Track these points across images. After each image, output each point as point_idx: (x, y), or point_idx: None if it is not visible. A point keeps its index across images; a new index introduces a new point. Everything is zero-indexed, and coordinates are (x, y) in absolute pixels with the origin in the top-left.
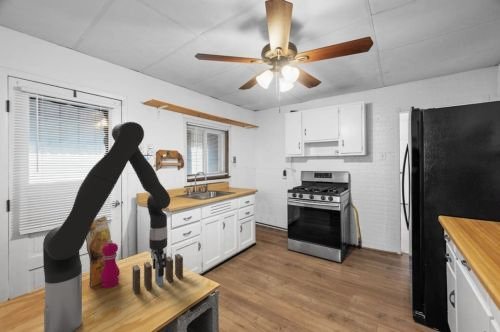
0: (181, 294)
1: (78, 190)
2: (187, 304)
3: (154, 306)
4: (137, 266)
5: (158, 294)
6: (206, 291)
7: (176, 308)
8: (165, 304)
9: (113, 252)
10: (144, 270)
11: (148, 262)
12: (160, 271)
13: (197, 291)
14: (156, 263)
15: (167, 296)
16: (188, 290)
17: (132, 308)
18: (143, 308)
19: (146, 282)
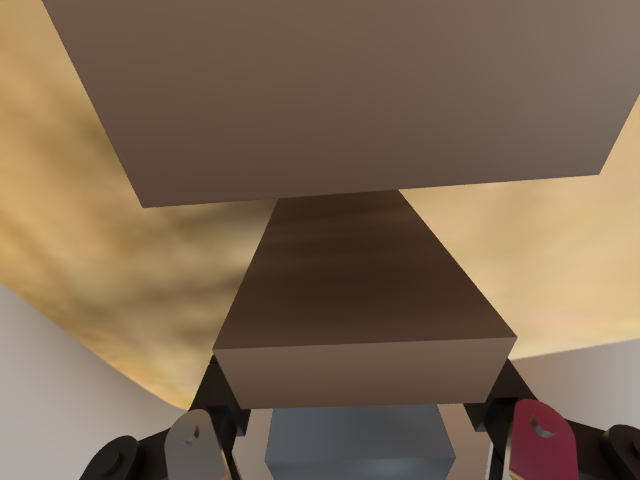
0: (154, 324)
1: None
2: (56, 323)
3: (54, 189)
4: (437, 149)
5: (196, 235)
6: (148, 390)
7: (23, 282)
8: (69, 247)
9: None
10: (411, 241)
11: (455, 394)
12: (202, 381)
13: (159, 372)
14: (368, 423)
15: (155, 271)
16: (181, 351)
17: (40, 18)
18: (34, 115)
19: (298, 199)
